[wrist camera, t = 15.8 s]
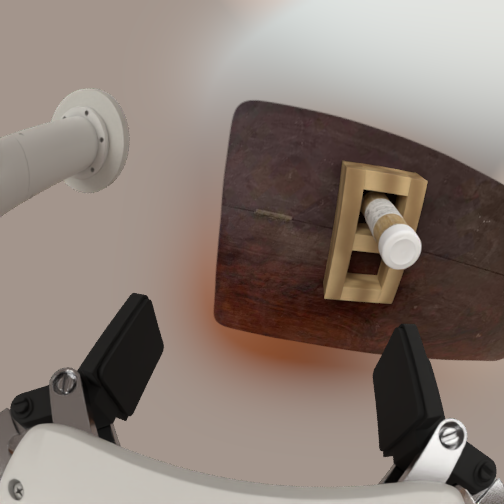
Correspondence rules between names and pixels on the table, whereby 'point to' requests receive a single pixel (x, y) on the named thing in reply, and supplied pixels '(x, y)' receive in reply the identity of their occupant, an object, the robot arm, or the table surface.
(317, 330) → the table surface
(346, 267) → the holder
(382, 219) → the sprinkles bottle
